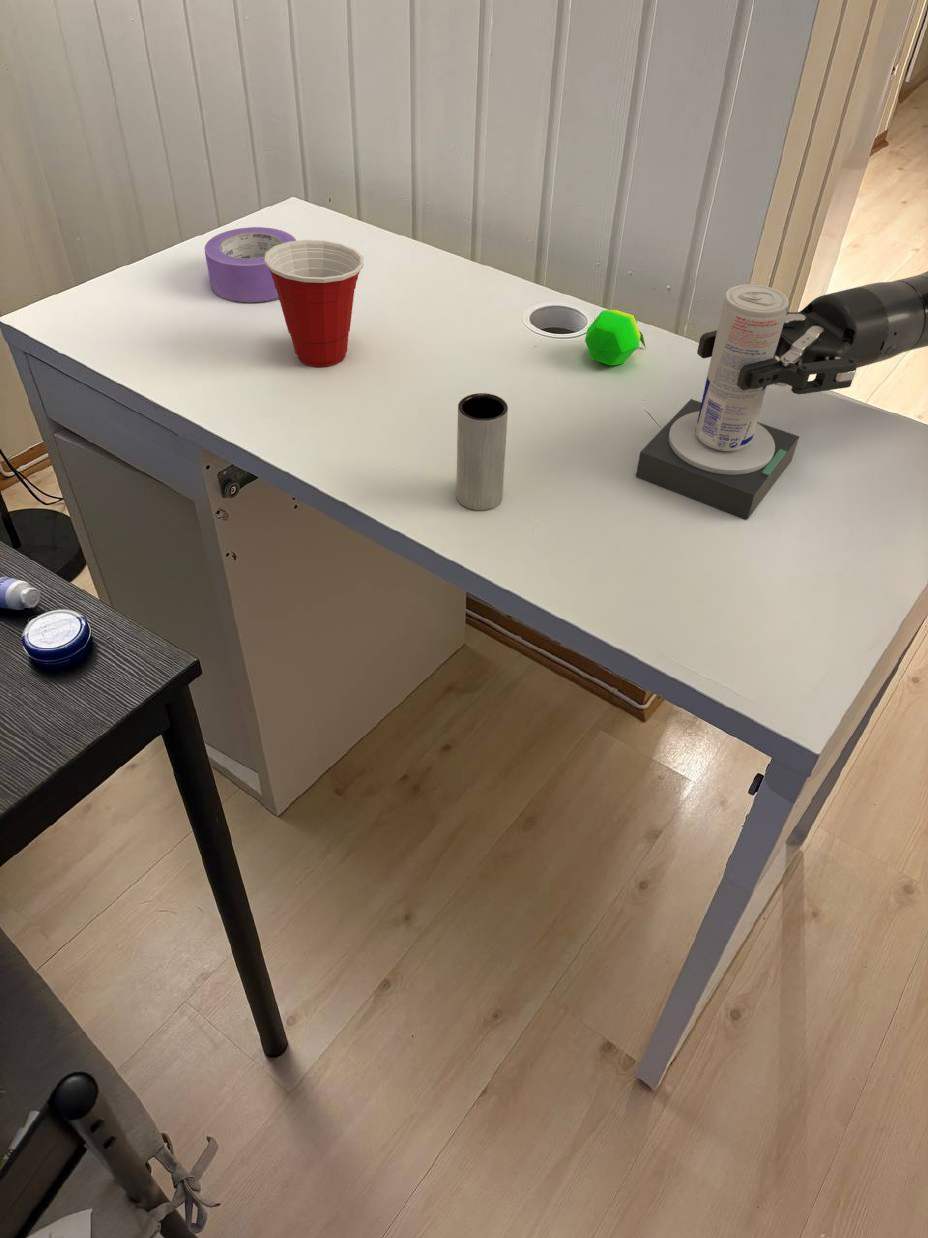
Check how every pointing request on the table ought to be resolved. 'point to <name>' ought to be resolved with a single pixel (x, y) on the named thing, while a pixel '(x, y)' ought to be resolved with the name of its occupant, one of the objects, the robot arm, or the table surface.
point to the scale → (716, 464)
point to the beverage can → (739, 365)
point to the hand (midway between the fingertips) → (721, 362)
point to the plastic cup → (316, 296)
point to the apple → (613, 337)
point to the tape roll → (243, 263)
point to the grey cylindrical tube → (481, 450)
